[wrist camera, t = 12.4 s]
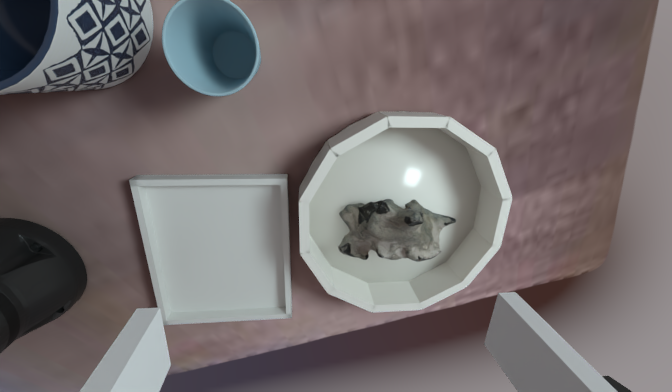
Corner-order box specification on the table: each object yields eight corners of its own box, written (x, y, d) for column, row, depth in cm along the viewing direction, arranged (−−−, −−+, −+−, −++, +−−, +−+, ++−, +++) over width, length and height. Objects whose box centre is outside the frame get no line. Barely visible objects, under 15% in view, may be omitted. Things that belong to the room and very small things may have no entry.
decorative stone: (343, 268, 44) (353, 299, 35) (326, 208, 43) (331, 222, 33) (448, 237, 45) (487, 259, 35) (434, 177, 44) (470, 182, 34)
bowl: (301, 288, 47) (301, 316, 42) (297, 109, 38) (296, 115, 32) (465, 280, 50) (486, 306, 44) (500, 112, 40) (531, 117, 35)
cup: (285, 55, 36) (278, 46, 26) (243, 105, 37) (221, 115, 27) (230, 1, 33) (200, -31, 23) (188, 57, 35) (142, 48, 25)
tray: (167, 315, 46) (161, 325, 45) (137, 174, 39) (129, 179, 37) (292, 308, 48) (291, 317, 46) (287, 173, 41) (286, 178, 39)
